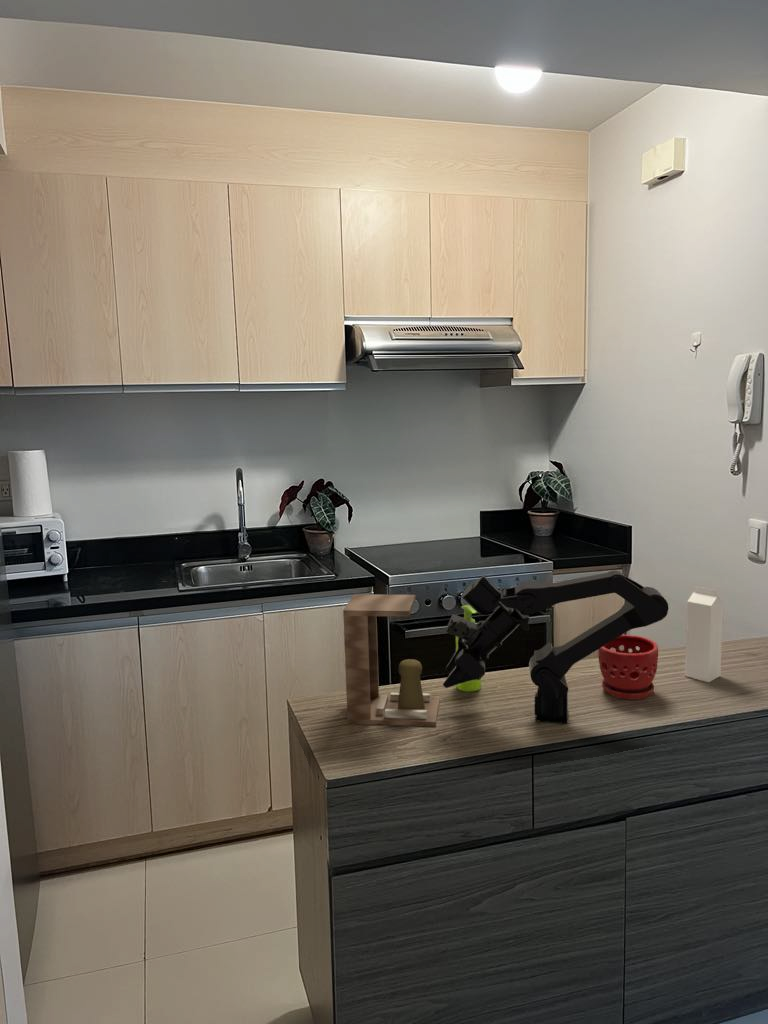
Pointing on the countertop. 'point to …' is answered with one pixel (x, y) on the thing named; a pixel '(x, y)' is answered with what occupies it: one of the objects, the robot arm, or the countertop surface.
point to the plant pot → (629, 667)
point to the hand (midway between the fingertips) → (445, 678)
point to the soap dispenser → (476, 684)
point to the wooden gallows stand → (376, 664)
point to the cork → (410, 685)
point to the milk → (704, 635)
